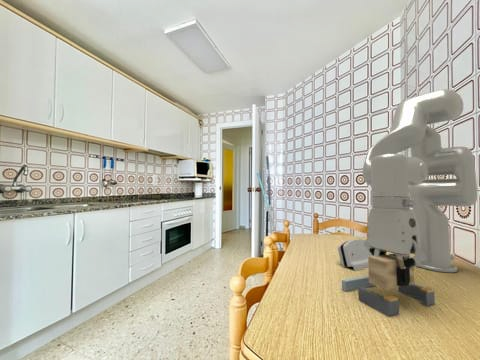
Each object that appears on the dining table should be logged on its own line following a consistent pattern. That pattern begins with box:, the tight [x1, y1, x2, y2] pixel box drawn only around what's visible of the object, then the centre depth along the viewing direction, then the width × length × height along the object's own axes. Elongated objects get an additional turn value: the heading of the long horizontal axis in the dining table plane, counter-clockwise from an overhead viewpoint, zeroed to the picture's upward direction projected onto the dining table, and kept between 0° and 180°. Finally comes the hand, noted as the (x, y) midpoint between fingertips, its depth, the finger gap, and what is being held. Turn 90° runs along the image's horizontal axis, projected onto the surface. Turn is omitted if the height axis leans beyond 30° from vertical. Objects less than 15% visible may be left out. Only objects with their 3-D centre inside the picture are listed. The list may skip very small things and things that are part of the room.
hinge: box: [337, 238, 373, 272], centre depth 76 cm, size 17×5×10 cm, turn 119°
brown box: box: [367, 253, 416, 291], centre depth 49 cm, size 10×4×6 cm, turn 110°
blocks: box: [357, 283, 436, 318], centre depth 49 cm, size 15×7×3 cm, turn 110°
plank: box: [341, 274, 377, 292], centre depth 57 cm, size 14×1×2 cm, turn 110°
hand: (392, 280), depth 49 cm, fingers closed on brown box, 4 cm apart
